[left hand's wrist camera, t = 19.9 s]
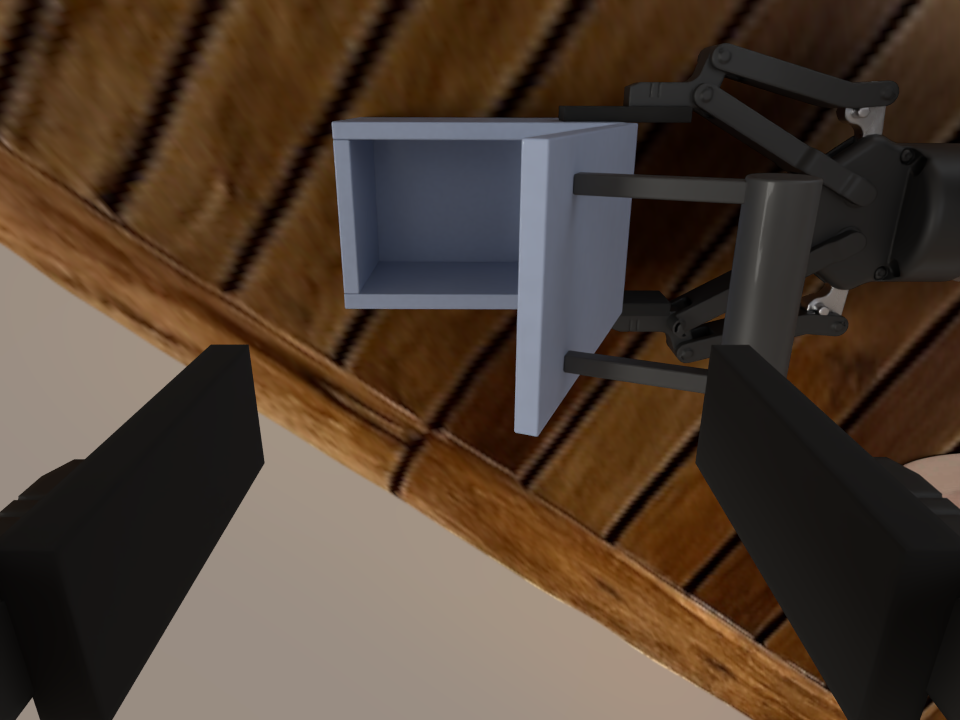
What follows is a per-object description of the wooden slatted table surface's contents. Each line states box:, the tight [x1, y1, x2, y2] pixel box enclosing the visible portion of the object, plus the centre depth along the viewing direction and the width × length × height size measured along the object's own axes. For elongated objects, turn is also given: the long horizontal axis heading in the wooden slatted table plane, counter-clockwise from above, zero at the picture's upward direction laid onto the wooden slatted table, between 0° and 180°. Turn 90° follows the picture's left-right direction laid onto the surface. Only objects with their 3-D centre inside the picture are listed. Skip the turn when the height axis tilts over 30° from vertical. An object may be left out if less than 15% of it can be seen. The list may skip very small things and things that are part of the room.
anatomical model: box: [903, 453, 960, 509], centre depth 50 cm, size 13×4×12 cm
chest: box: [332, 117, 625, 309], centre depth 39 cm, size 15×10×9 cm, turn 90°
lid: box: [514, 123, 823, 436], centre depth 26 cm, size 15×10×8 cm
